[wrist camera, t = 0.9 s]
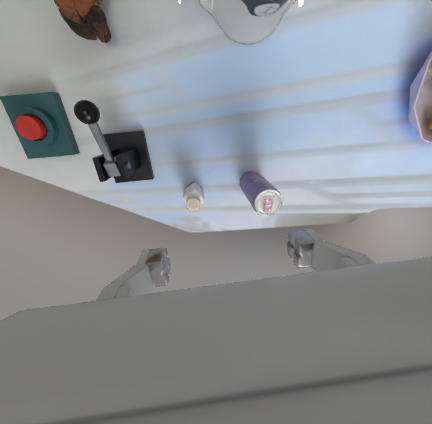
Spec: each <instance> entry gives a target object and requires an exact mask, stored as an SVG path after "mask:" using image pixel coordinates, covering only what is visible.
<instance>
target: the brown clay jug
mask: <svg viewBox="0 0 432 424" xmlns="http://www.w3.org/2000/svg"><path fill="white" fill-rule="evenodd" d="M96 1H97V2H98V3H99V4H101V3H102V0H54V2H55V4H56V5H57V6H58V7H59V11H60V13H61V15H62V17H63V19H64V20H65V22H66V23H67V24H68V25H69V26H70V28H71V29H72V30H73V31H74V32H75V33H76V34H78V35H79V36H81V37H83V38H85V39H91V40H96V39H97V38H96V36H97V37H99V38H100V40H101V41H102V42H104V43H108V42H109V41H110V39H111V34H110V30H109V28H108V25H107V23H106V18H105V14H104V12H103V11H102V9H101V8H100V7H99V6H94V4H95V2H96ZM81 17H83V18H86V20H87V22H86V23H85V22H84V21H83V19H82V18H81Z"/></svg>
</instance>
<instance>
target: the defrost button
mask: <svg viewBox="0 0 432 424" xmlns="http://www.w3.org/2000/svg"><path fill="white" fill-rule="evenodd" d="M15 126H16V129H17V131H18V132H19V133H20V135H22V136H23V137H24V138H26V139H29V140H37V139H42V138H44V137H45V135H46V127H45V125H44V123H43V122H42V121H41V120H40V119H39V118H37V117H35V116H20V117H18V118H17V119H16V122H15Z"/></svg>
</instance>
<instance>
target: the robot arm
mask: <svg viewBox="0 0 432 424" xmlns="http://www.w3.org/2000/svg"><path fill="white" fill-rule="evenodd" d="M295 1H296V0H199V2H200V4H201V6H202V7H203V8H204V9H205V10H206V11H208V12H209V13H210V14H212V15H213V16H214V18H215V19H216V21H217V23H218V24H219V26H220V28H221V29H222V30H223V32H224V33H225V34H226V35H227V36H228V37H230V38H231V39H233V40H234V41H237V42H239V43H243V44H253V43H257V42H259V41H261V40H263V39H265V38H266V37H268V36H269V35H270V34H271V33H272V32H273V31H274V29H275V28H276V27H277V25H278V24H279V22H280V20H281V18H282V16H283V14H284V12H285V11H286V10H287V9H288V8H289V7H290V6H291V5H292V4H293V3H294V2H295ZM179 3H181V0H179ZM302 4H303V0H299V6H301V5H302ZM287 238H288V239H289V242H288V243H287V251H288V254H289V256H290V257H291V258H293V262H294V263H295V265H296V266H297V268H303V267H311V268H313V269H314V270H316V272H309V273H302V274H294V275H286V276H279V277H271V278H263V279H256V280H249V281H241V282H233V283H226V284H218V285H211V286H203V287H196V288H188V289H180V290H173V291H165V292H158V293H150V292H151V291H152V290H153V289H154V287H160V286H166V285H168V281H169V275H168V274H169V273H170V259H169V258H168V257H167V256H168V251H167V248H156V249H147V250H143V251H142V252H141V255H140V257H139V260H138V262H137V264H136V266H133V267H132V268H130V269H129V270H127V271H126V272H125V273H123V274H122V275H121V276H119V277H118V278H117V279H115V280H114V281H113V282H111V283H110V284H109V285H107V286H106V287H105V288H103V290H102V291H101V293H100V295H99V297H98V299H97V300H96V301H90V302H82V303H75V304H68V305H60V306H52V307H46V308H36V309H27V310H23V311H19V312H17V313H14V314H12V315H10V316H9V317H6V318H5V319H3V320H1V321H0V424H432V256H430V257H422V258H415V259H407V260H400V261H392V262H384V263H377V264H376V263H374V262H373V261H372V260H371V259H370V258H368V257H367V256H366V255H364V254H362V253H359V252H356V251H353V250H350V249H347V248H345V247H341V246H339V245H336V244H333V243H330V242H327V241H325V242H324V241H323V240H322V239H321V238H320V237H319V236H318V235H317V234H316V233H315V232H314V231H313V230H311V229H307V230H302V231H295V232H289V233H288V237H287Z"/></svg>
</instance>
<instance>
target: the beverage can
mask: <svg viewBox="0 0 432 424" xmlns="http://www.w3.org/2000/svg"><path fill="white" fill-rule="evenodd" d="M240 187H241V189H242V191H243V192H244V194H245V195H246V197H247V199H248V200H249V202H250V203H251V205H252V207H253V208H254V210H255V211H256V212H258V213H259V214H261V215H264V216H269V215H272V214H274V213H276V212H277V211H278V210H279V209H280V207H281V205H282V196H281V194H280V192H279V191H278V190H277V189H276V188H275V187H274V186H273V185H271V184H270V183H269V182H268V181H267V180H266V179H265V178H264V177H262V176H261V175H260V174H259V173H258V172H255V171H249V172H246V173H245V174H244V175H243V176H242V177H241V179H240Z"/></svg>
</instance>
